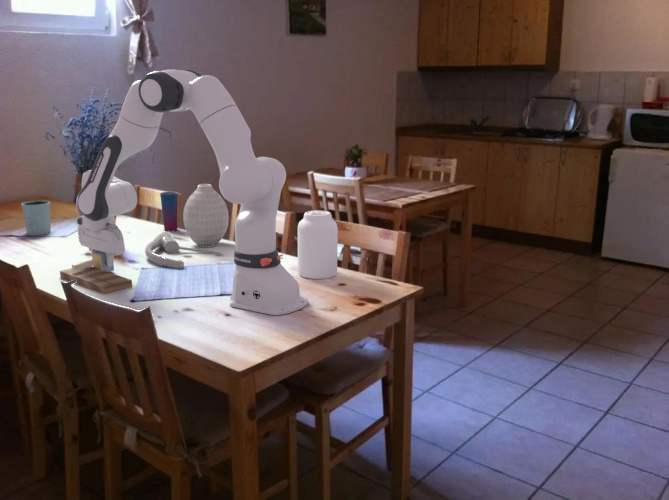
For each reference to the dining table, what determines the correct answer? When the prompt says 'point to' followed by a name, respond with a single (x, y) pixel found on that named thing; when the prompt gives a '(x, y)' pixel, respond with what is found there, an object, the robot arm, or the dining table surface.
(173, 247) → the faucet
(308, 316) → the dining table surface
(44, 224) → the pale blue tumbler
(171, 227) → the cup
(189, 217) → the vase
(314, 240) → the white jar
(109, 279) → the board
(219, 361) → the dining table surface
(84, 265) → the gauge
